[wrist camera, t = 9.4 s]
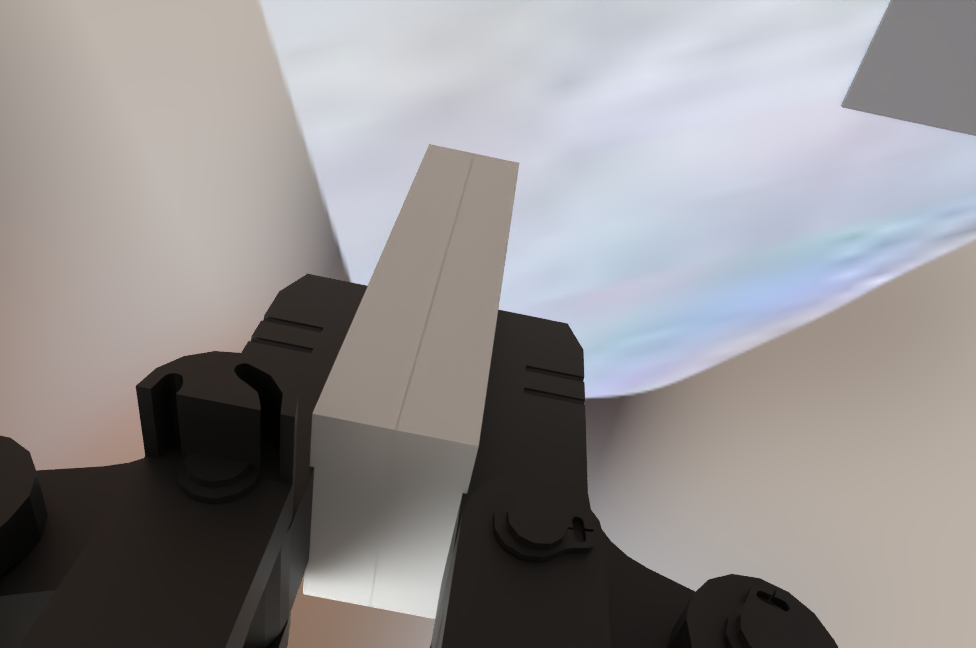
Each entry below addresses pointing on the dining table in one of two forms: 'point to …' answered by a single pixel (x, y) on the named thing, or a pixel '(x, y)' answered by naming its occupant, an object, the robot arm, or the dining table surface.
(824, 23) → the dining table surface
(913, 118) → the grey flat board
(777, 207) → the dining table surface
